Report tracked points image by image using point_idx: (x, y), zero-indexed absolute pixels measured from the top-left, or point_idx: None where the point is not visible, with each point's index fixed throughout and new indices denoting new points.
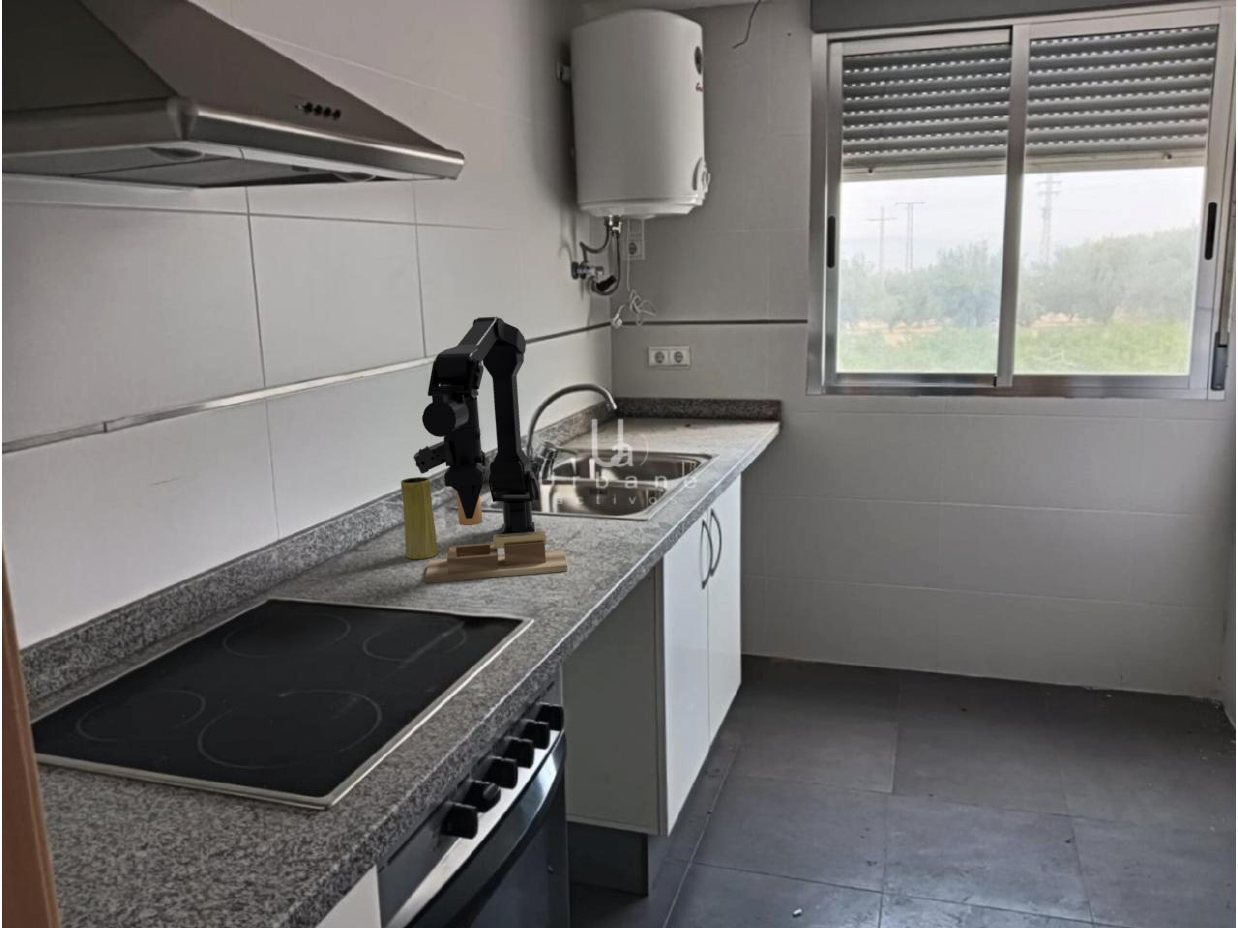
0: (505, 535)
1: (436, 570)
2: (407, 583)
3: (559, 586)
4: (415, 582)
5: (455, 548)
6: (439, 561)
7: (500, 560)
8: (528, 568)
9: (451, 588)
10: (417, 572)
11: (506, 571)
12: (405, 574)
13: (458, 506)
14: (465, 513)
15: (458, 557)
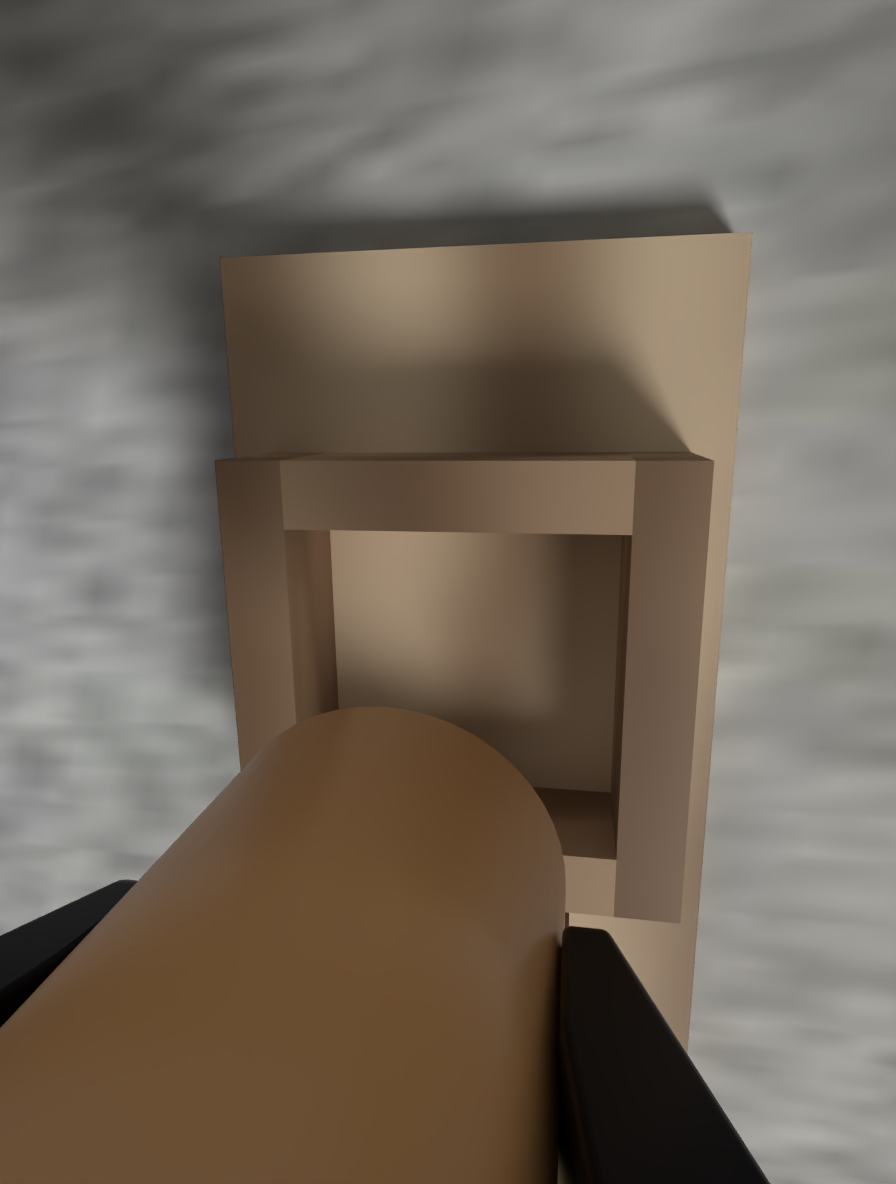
0: None
1: (384, 342)
2: (255, 100)
3: None
4: (269, 172)
5: (598, 529)
6: (670, 343)
7: None
8: None
9: (87, 483)
10: (555, 143)
11: None
12: (524, 24)
13: (141, 901)
14: (33, 934)
15: (262, 568)
